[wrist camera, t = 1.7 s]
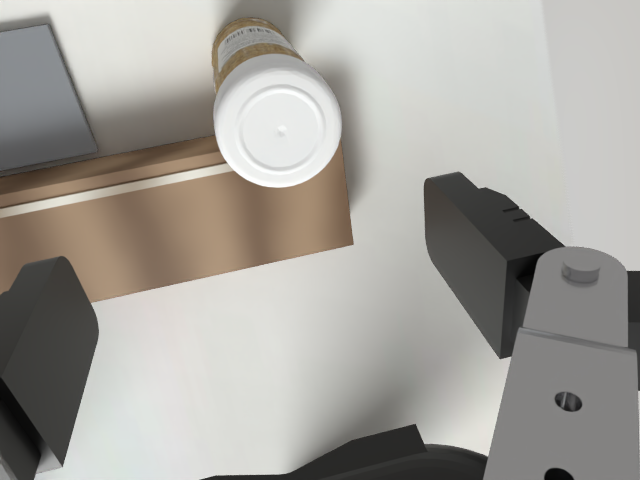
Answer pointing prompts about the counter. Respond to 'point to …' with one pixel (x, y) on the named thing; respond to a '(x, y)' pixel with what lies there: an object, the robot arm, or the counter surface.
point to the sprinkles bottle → (271, 107)
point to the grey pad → (38, 102)
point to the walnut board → (164, 218)
